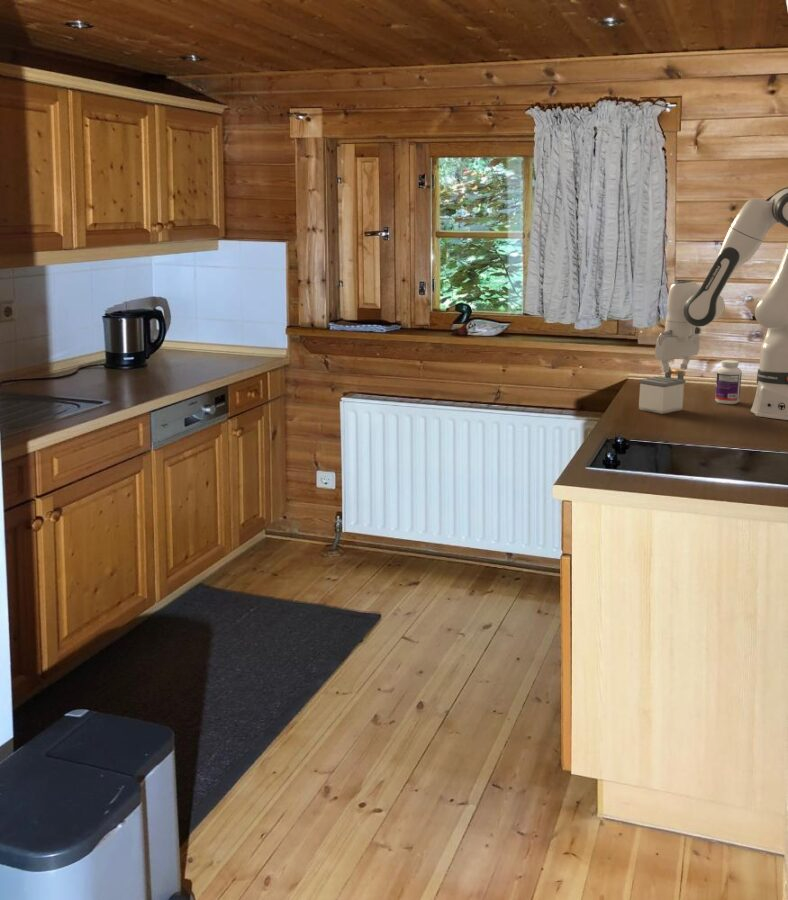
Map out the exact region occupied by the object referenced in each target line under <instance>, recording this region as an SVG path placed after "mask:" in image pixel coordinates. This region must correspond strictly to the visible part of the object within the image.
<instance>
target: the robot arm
mask: <svg viewBox="0 0 788 900" xmlns="http://www.w3.org/2000/svg"><path fill="white" fill-rule="evenodd" d="M778 223H780V224H781V225H782V226H784V227H786V228H788V186H787V187H784V188H782V189H781V188H780V190H778V191H776V192H775V193H774V194H773V195H771V196H769V197H768V198H767V199H766V200H765V199H763V198H756V197H755V198H750V199H749V200H747V201H746V202H745V203H744V205H743V206H742V207H741V208H740V210H739V211H738V212H737V214H736V216H735V217H734V219H733V221H732V222H731V224H730V227H728V231H726V234H725V237H724V240H723V241H722V244H721V247H720V250H719V252H718V255H717V256H716V259H715V261H714V263H713V265H712V267H711V268H710V270H709V272H708V273H707V276H706V277H705V279H704V281H703V283H702V285H698V284H697V283H696V281H694V280H691V279H688V280H687V279H686V280H681V281H676V282H673V283H672V284H671V285H670V287H669V290H668V293H667V294H668V295H667V303H666V309H667V314H666V316H665V317H666V318H665V324H664V325H665V327H664V331H661V333H660V334H659V335H658V337H657V339H656V343H655V348H654V349H655V350H654V358H655V359H656V360H659V361H660V360H661V364H662V367H663V373H665V372H666V373H667V372H670V369H672V367H671V366H670V360H673V359H681V358H682V359H683V360H682V362H681V363H680V366H679V367H680V369H679V370H681V371H685V370H688V365H689V362H690V360H691V357H692V356H694V357H695V356H697V355H698V353H699V352H700V344H701V337H700V334H701V335H702V328H701V327H705V326H707V325H709V324H710V323H711V322H714V321H715V320H717V319H719V318H720V317H721V316H722V315H723V314H724V312H725V310H726V309H725V308H726V304H725V301H724V298H723V297H722V296H721V294H722V291H723V290H724V288H725V286H726V285H727V283H728V281H729V279H730V278H731V277H732V275H733V274H734V272H735V271H737V269H739V268H740V267H741V266H743V265H744V264H745V263H748V261H750V260H751V259H752V257H754V256H755V254H756V253H757V251H758V250H759V248H760V247H761V245H762V243H763V242H764V240H765V238H766V236H767V234H768V232H769V231H770V230H771V228H772V227H773V226H774V225H776V224H778ZM779 263H780V264H779V266H778V268H777V271H776V273H775V275H774V276H773V278H772V280H771V282H770V284H769V285H768V288H767V289H766V291H765V293H764V294H763V297H762V298H761V299H760V301H759V302H758V303H757V304H756V307H755V310H754V315H755V316H754V317H755V320H756V321H757V323H758V324H759V325H760V326H762V327H764V328H766V329H767V331H766V335H765V337H764V339H763V341H762V343H761V347H760V355H759V356H760V357H759V366H758V367H759V368H758V369H757V373H756V374H757V375H756V393H755V396H754V400H753V403H752V406H751V409H750V412H751V413H753V414H754V415H755V416H756V417H760V418H761V417H763V418H769V419H776V420H778V419H779V420H785V421H788V243H787V244H786V246H785V249H784V252H783V255H782V257H781V260H780V262H779Z"/></svg>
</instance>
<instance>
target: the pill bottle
mask: <svg viewBox="0 0 788 900" xmlns="http://www.w3.org/2000/svg"><path fill="white" fill-rule="evenodd" d="M741 386H742V370H741V368H740V367H739V360H734V359H732V360H731V359H724V360H721V366H720V367H718V369H717V371H716V382H715V393H714V394H715V396H714V397H715V399H714V400H715V402H716V403H718V404H720V405H721V404H722V405H735V404H738V403H739V402H740V400H741V399H740V397H741Z"/></svg>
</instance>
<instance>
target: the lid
mask: <svg viewBox="0 0 788 900" xmlns="http://www.w3.org/2000/svg"><path fill="white" fill-rule="evenodd" d="M672 375H677V378H674V377H672ZM685 375H686V371H685V370H682V369H679V370H678V369H674V368H671V369H670V372H667V373H666V372H664V376H663V375H662V376H661V375H659V376H653V377H646V378H643V379H639V383H644V384H650V385H656V386H662V387H667V386H672V385H678V384H686V379H684V377H685Z"/></svg>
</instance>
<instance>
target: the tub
mask: <svg viewBox="0 0 788 900" xmlns="http://www.w3.org/2000/svg"><path fill="white" fill-rule="evenodd" d="M639 383H640V382H639ZM684 390H685V383H683V384H678V385H672V386H667V387H662V386H656V385H650V384H644V383H640V384H639V398H638V410H640V411H645V412H649V413H655V414H660V415H663V414H669V413H672V412H678V411H682V410H683V408H684V407H683V406H684V405H683V404H684Z"/></svg>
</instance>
